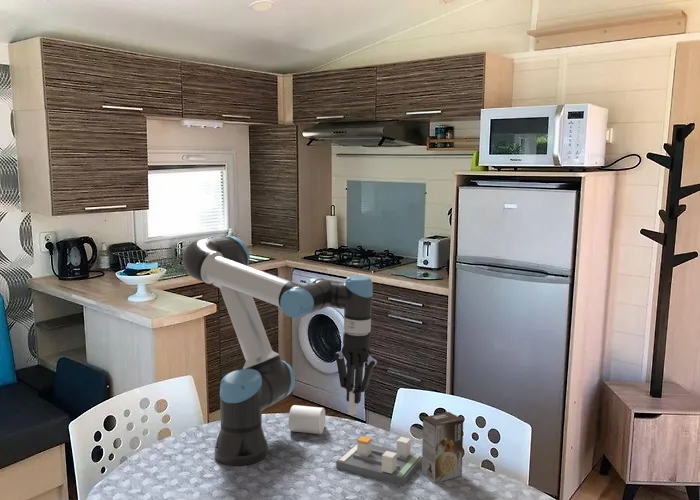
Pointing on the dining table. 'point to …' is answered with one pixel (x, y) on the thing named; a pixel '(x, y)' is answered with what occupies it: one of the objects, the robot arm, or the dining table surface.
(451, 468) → the brown tall rectangular box
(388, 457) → the block
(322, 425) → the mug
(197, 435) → the dining table surface
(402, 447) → the block
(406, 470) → the panel
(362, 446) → the block
